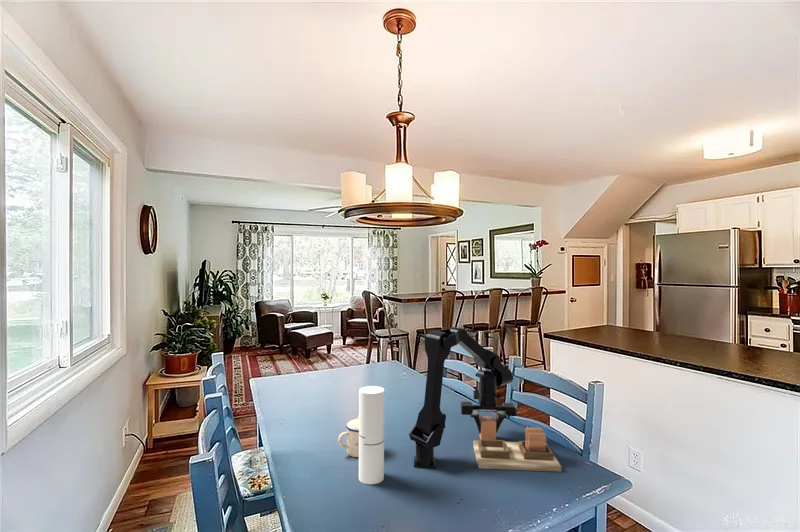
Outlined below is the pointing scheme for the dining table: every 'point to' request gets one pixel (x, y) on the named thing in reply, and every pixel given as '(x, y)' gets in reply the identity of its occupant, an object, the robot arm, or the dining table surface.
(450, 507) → the dining table surface
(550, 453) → the socket board
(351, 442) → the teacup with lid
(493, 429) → the loose block
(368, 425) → the cylindrical container
